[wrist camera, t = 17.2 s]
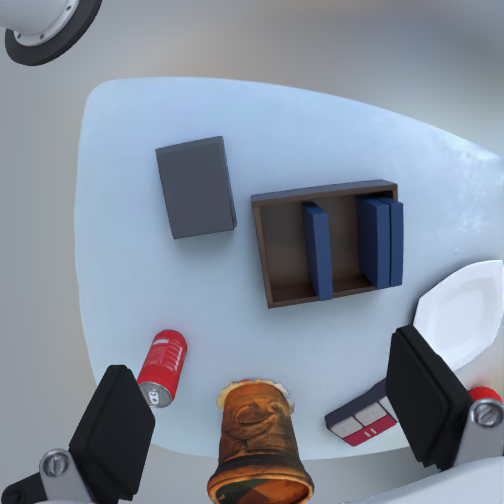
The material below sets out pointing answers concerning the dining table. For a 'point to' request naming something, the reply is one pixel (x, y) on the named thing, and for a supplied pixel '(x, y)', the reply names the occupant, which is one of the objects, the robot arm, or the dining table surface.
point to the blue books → (380, 239)
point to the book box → (293, 239)
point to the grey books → (197, 187)
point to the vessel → (258, 448)
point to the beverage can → (162, 369)
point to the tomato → (483, 393)
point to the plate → (463, 312)
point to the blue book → (318, 249)
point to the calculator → (363, 417)
